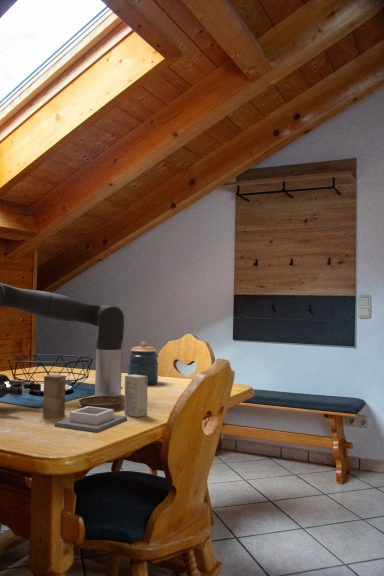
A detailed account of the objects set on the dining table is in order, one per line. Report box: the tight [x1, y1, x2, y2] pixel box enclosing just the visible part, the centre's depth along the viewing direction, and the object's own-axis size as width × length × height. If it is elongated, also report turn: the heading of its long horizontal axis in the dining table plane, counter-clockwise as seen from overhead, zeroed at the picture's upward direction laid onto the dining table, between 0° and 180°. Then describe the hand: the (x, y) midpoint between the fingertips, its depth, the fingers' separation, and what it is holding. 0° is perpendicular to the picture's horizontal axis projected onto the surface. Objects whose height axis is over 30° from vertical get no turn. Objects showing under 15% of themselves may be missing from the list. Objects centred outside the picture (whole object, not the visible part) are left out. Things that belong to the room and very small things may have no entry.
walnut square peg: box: [42, 374, 67, 419], centre depth 155 cm, size 4×4×12 cm
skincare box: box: [124, 374, 148, 418], centre depth 159 cm, size 6×4×12 cm
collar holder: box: [53, 406, 128, 433], centre depth 147 cm, size 16×14×4 cm
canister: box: [127, 341, 159, 386], centre depth 217 cm, size 13×13×18 cm
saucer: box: [78, 396, 125, 411], centre depth 168 cm, size 15×15×3 cm
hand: (31, 389), depth 158 cm, fingers open, 8 cm apart
